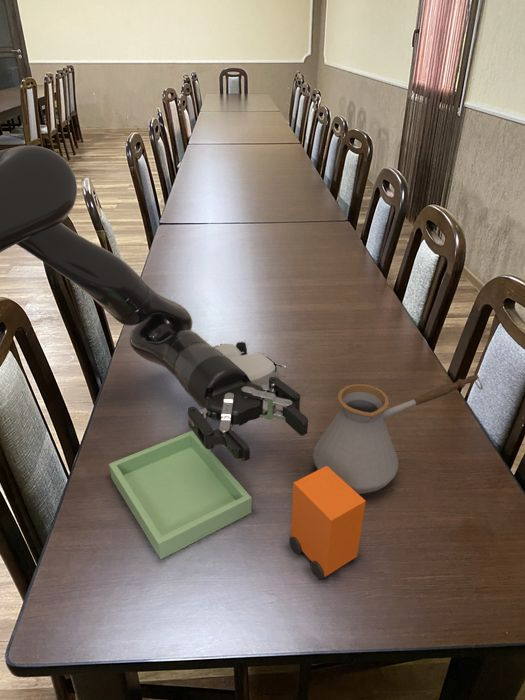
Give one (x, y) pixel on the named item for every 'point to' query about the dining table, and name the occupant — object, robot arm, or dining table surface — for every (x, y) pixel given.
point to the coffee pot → (367, 435)
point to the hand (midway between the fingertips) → (277, 441)
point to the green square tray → (179, 492)
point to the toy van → (326, 521)
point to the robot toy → (250, 362)
